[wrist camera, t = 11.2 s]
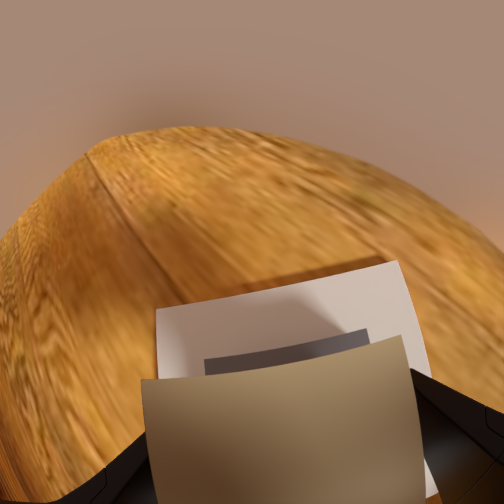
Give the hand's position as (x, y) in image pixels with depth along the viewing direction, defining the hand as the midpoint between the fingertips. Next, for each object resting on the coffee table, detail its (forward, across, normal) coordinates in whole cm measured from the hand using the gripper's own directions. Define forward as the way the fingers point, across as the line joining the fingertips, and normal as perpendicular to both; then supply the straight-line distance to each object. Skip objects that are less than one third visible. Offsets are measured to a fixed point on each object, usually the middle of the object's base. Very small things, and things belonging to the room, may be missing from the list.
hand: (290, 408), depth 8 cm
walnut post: (+5, 0, +7) cm, 8 cm away
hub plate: (+5, 0, +7) cm, 9 cm away
